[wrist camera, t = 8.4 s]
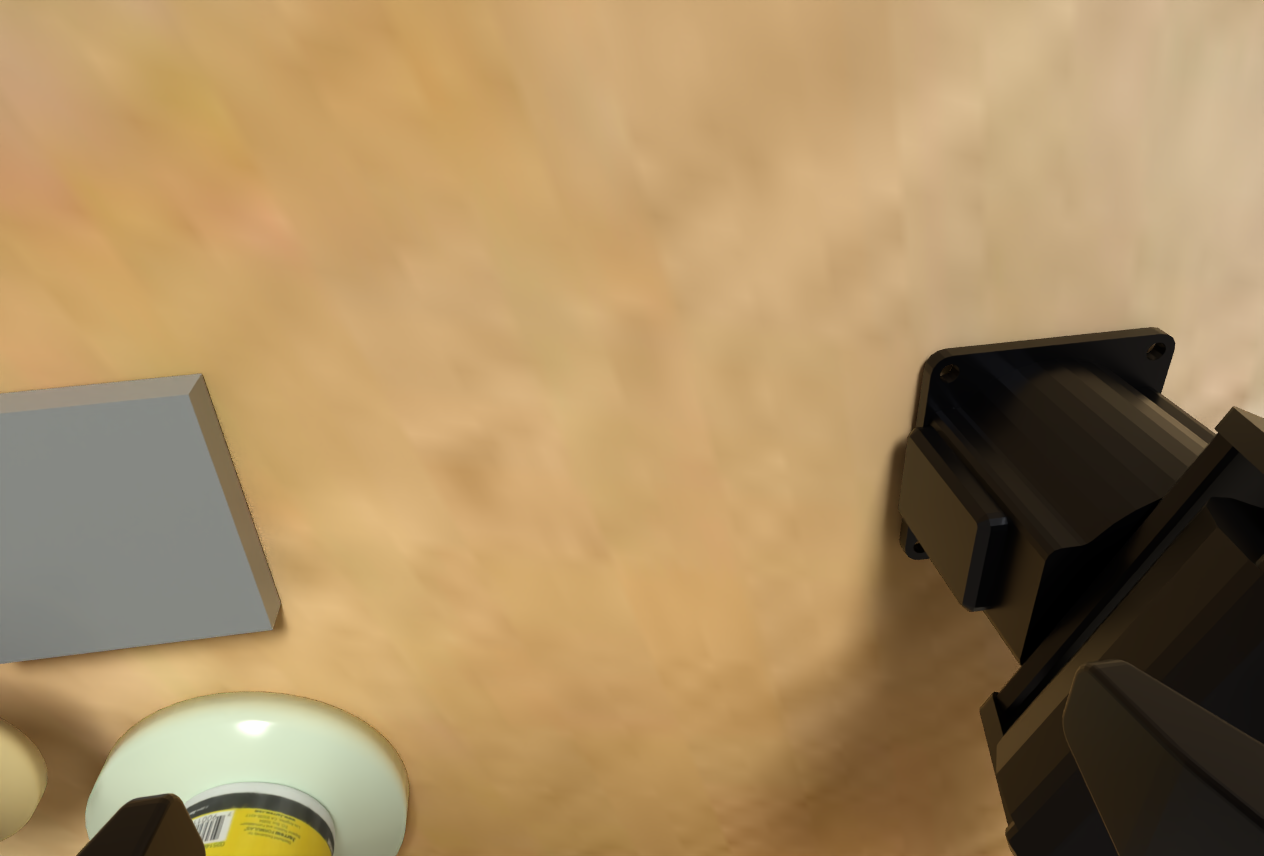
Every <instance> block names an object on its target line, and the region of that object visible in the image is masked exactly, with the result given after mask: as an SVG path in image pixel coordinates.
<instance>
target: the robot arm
mask: <svg viewBox="0 0 1264 856" xmlns="http://www.w3.org/2000/svg"><path fill="white" fill-rule="evenodd" d="M1153 344H1155V346H1154V348H1153V349H1152V350H1151V351H1150V352H1148V353H1147V351H1148V349H1149V348H1150V347H1151V346H1152V345H1153ZM1174 350H1175V341H1174V339H1173V337H1171V336H1170V335H1168V334H1167V333H1165V332H1164V331H1162V330H1160V329H1159V328H1154V327H1149V328H1140V329H1130V330H1121V331H1111V332H1101V333H1092V334H1082V335H1073V336H1063V337H1053V338H1044V339H1034V340H1025V341H1015V342H1006V343H996V344H986V345H977V346H967V347H958V348H948V349H943V350H939V351H937V352H936V353H934V354H933V355H931V356H930V358H929V359H928V360H927V361H926V364H925V367H924V371H923V378H922V385H921V392H920V399H919V406H918V413H917V420H916V427H915V428H914V429H913V430H912V432H911V433H910V435H909V436H908V440H907V447H906V454H905V462H904V469H903V476H902V483H901V491H900V498H899V505H898V510H899V513H900V514H901V516H902V517H903V518H902V525H901V532H900V545H901V547H902V548H903V550H904V552H905V553H906V554H907V556H908V557H909V558H911V559H915V560H921V559H929V558H930V559H931V561H932V562H933V564H934V565H935V567H936V569H937V570H938V572H939V573H940V575H941V576H942V578H943V579H944V581H945V582H946V584H947V585H948V587H949V588H950V590H951V591H952V593H953V594H954V596H955V597H956V599H957V600H958V602H959V603H960V604H961V605H962V606H963V607H964V608H966V609H967V610H968V611H969V612H974V611H982V610H983V611H984V613H985V614H986V616H987V617H988V619H989V620H990V622H991V623H992V624H993V626H994V627H995V629H996V630H997V632H998V633H999V635H1000V636H1001V638H1002V639H1003V640H1004V642H1005V643H1006V645H1007V646H1008V648H1009V649H1010V651H1011V652H1012V654H1013V655H1014V656H1015V658H1016V659H1017V661H1018V662H1019V664H1020V665H1021V667H1020V668H1019V670H1018V671H1017V672H1016V673H1015V674H1014V675H1013V677H1012V678H1011V679H1010V680H1009V681H1008V683H1007V684H1006V685H1005V686H1004V687H1003V689H1002V690H1001V691H1000V692H994V693H992V694H991V696H990V697H989V698H988V699H987V700H986V702H985V703H984V704H983V705H982V706H981V708H980V715H981V719H982V723H983V727H984V731H985V735H986V739H987V743H988V747H989V751H990V755H991V759H992V763H993V767H994V771H995V775H996V779H997V783H998V787H999V791H1000V795H1001V799H1002V803H1003V807H1004V811H1005V815H1006V819H1007V823H1008V827H1007V828H1006V832H1005V835H1006V838H1007V841H1008V845H1009V848H1010V850H1011V852H1012V853H1013V855H1014V856H1264V418H1262V417H1259V416H1257V415H1254V414H1252V413H1249V412H1247V411H1245V410H1242V409H1240V408H1237V407H1235V406H1233V407H1232V408H1231V409H1230V411H1229V412H1228V413H1227V414H1226V415H1225V417H1224V418H1223V419H1222V420H1221V421H1220V423H1219V424H1218V425H1217V426H1216V427H1215V428H1214V429H1215V430H1216V431H1217V432H1218V433H1217V435H1216V434H1215V433H1213V432H1212V431H1211V430H1209V429H1208V428H1207V427H1205V426H1204V425H1203V424H1201V423H1200V422H1198V421H1197V420H1196V419H1194V418H1193V417H1192V416H1190V415H1189V414H1188V413H1186V412H1185V411H1183V410H1182V409H1181V408H1179V407H1178V406H1177V405H1175V404H1174V403H1173V402H1171V401H1170V400H1169V399H1167V398H1166V397H1164V396H1163V395H1162V394H1161V392H1162V389H1163V385H1164V382H1165V379H1166V376H1167V372H1168V369H1169V366H1170V363H1171V359H1172V356H1173V353H1174ZM951 364H952V365H953V366H952V368H951V370H950V371H949V372H948V373H947V374H945V375H942V376H941V375H940V373H941V371H942V369H943V368H945V367H946V366H948V365H951ZM917 541H919V543H918V544H915V543H916V542H917ZM76 856H206V851H205V846H204V843H203V840H202V838H201V836H200V835H199V833H198V831H197V829H196V827H195V825H194V823H193V821H192V819H191V817H190V815H189V813H188V811H187V809H186V807H185V805H184V803H183V801H182V800H181V798H180V797H178V796H177V795H175V794H173V793H166V794H159V795H152V796H145V797H139V798H135V799H132V800H130V801H128V802H127V803H126V804H124V805H123V806H122V807H121V808H120V809H119V810H118V811H117V812H116V813H115V814H114V815H113V816H112V817H111V818H110V820H109V821H108V822H107V823H106V824H105V825H104V826H103V827H102V828H101V829H100V830H99V831H98V833H97V834H96V835H95V836H94V837H93V838H92V839H91V840H90V841H89V842H88V843H87V844H86V846H85V847H84V848H83V849H82V850H81V851H80V852H79V853H78V854H77V855H76Z"/></svg>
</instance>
